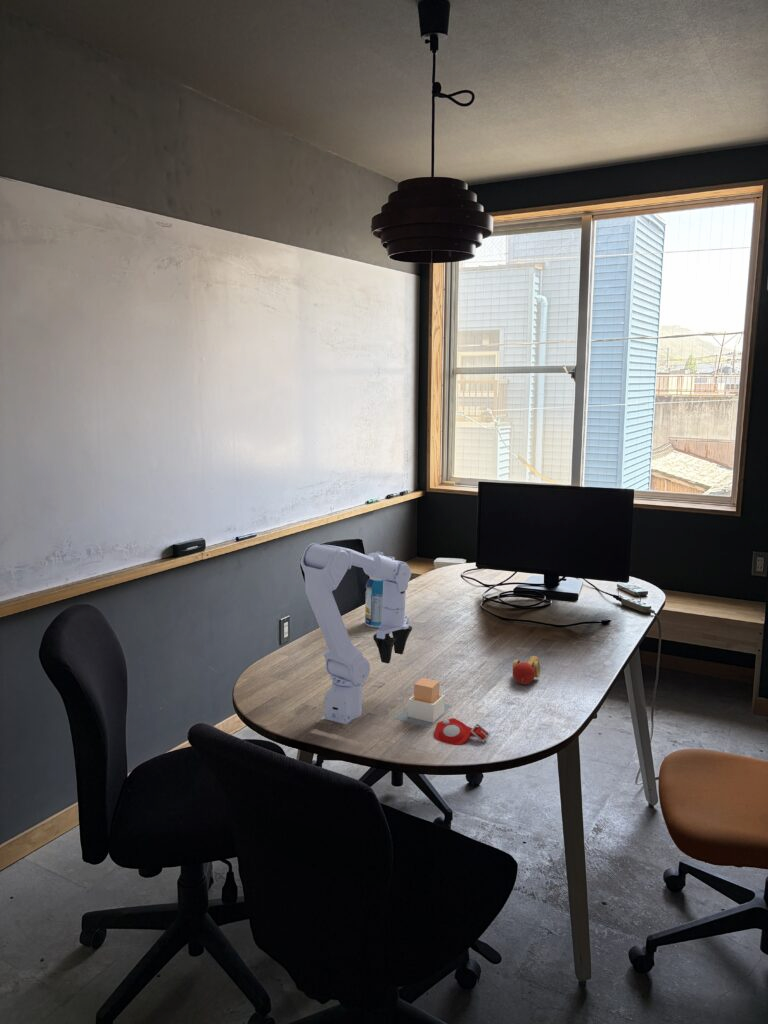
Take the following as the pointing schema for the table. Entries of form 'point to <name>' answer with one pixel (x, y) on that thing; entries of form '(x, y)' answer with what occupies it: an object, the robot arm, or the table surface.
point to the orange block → (426, 690)
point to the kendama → (526, 670)
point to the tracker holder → (458, 732)
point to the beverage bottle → (374, 602)
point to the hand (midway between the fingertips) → (392, 657)
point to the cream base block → (426, 709)
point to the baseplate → (404, 717)
